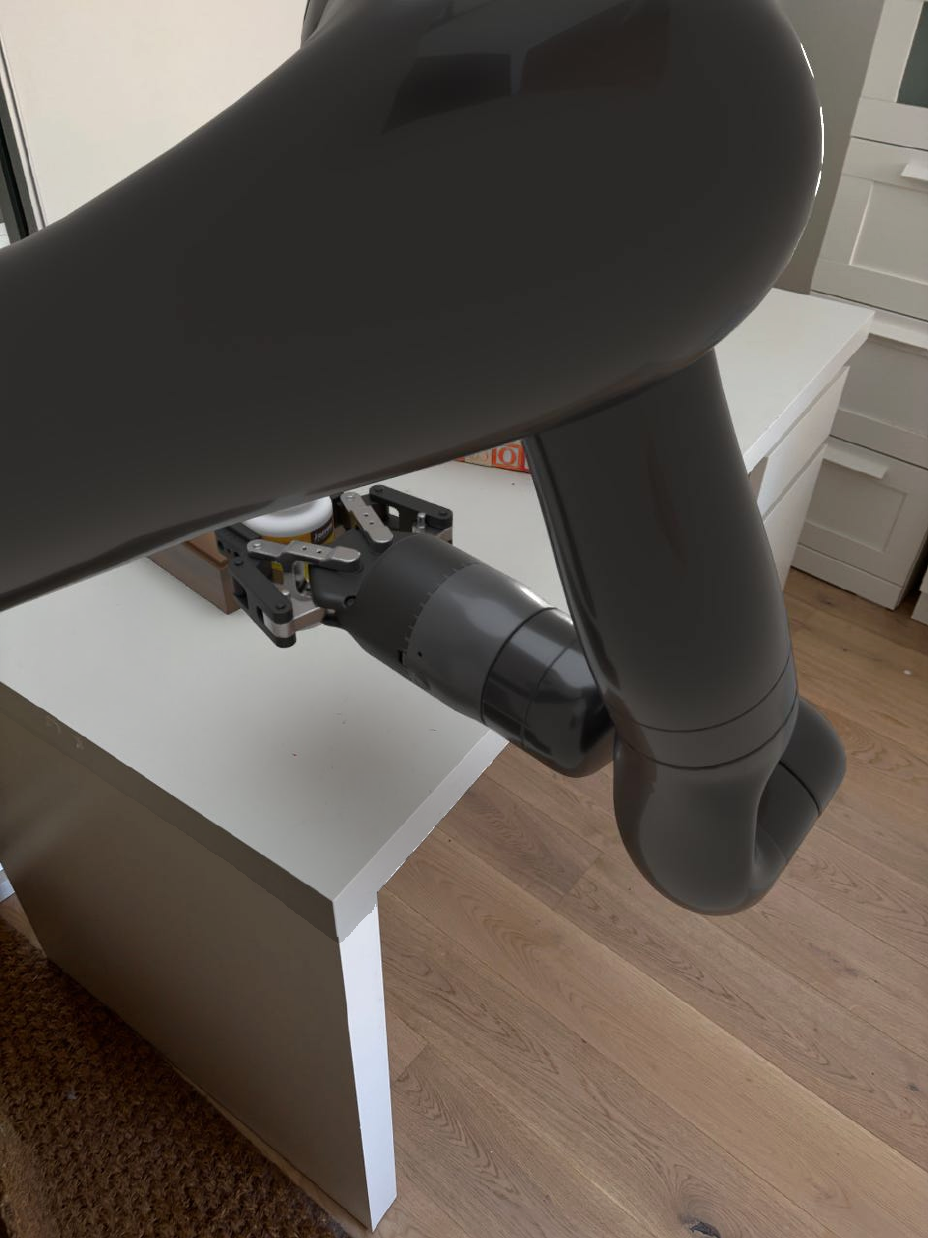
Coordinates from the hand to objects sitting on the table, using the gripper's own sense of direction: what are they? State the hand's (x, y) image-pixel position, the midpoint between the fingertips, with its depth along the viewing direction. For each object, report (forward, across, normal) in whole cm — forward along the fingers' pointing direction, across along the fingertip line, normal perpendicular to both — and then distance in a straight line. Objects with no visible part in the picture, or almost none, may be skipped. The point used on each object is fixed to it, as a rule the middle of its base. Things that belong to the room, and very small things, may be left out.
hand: (261, 509), depth 60 cm
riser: (+19, -11, +17) cm, 28 cm away
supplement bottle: (-3, 0, +7) cm, 7 cm away
